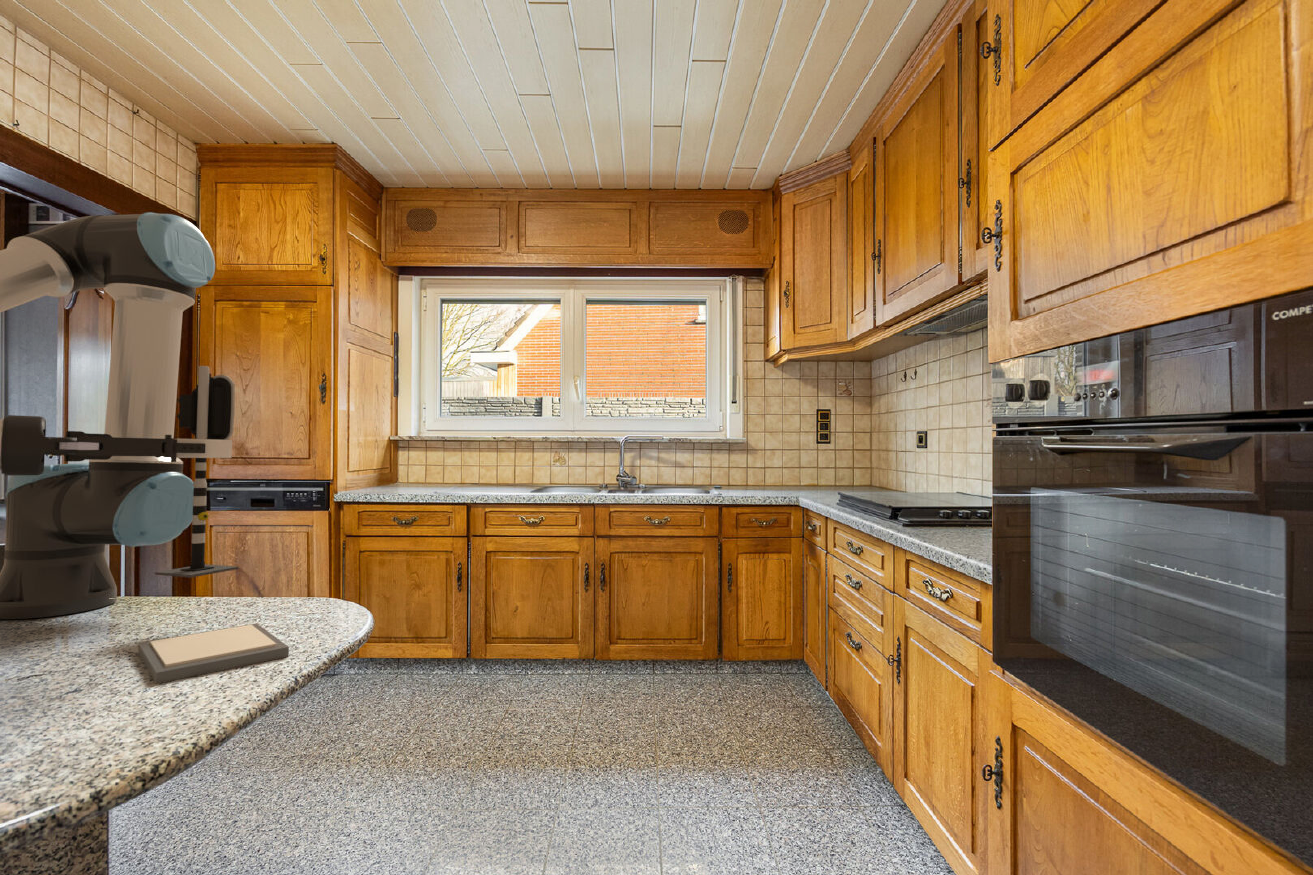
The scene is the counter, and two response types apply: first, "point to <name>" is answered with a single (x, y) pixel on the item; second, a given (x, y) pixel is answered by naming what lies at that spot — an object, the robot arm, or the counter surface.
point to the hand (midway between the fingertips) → (228, 449)
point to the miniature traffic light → (206, 420)
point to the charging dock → (209, 652)
